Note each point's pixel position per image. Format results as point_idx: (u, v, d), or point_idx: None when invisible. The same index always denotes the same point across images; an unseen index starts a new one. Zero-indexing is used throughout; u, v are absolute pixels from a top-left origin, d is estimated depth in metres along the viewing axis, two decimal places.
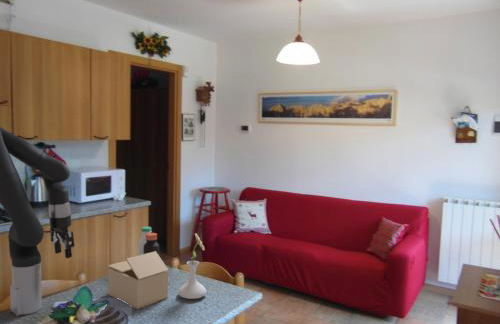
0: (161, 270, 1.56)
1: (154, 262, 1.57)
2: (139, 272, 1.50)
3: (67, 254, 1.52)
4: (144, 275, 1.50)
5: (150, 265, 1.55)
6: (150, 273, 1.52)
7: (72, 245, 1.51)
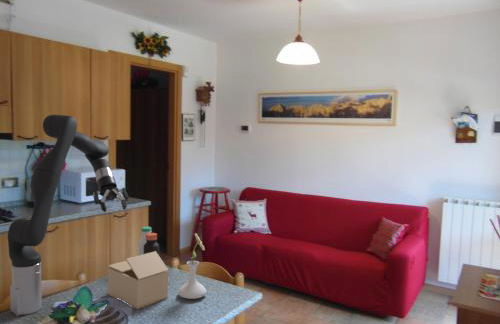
0: (161, 270, 1.56)
1: (154, 262, 1.57)
2: (139, 272, 1.50)
3: (125, 204, 1.76)
4: (144, 275, 1.50)
5: (150, 265, 1.55)
6: (150, 273, 1.52)
7: None
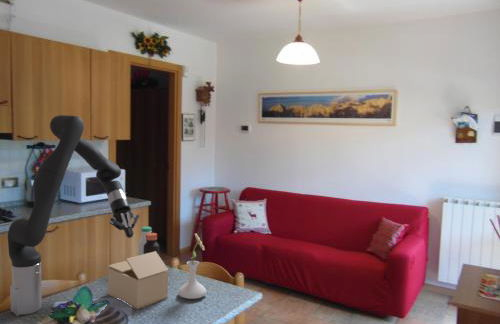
0: (161, 270, 1.56)
1: (154, 262, 1.57)
2: (139, 272, 1.50)
3: (132, 232, 1.66)
4: (144, 275, 1.50)
5: (150, 265, 1.55)
6: (150, 273, 1.52)
7: None
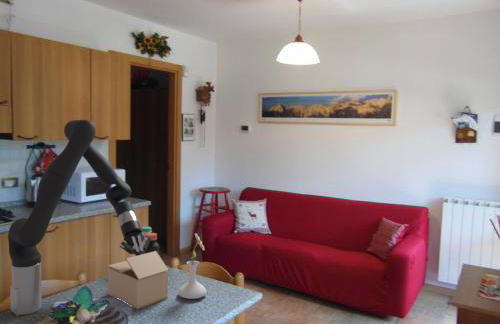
0: (161, 270, 1.56)
1: (154, 262, 1.57)
2: (139, 272, 1.50)
3: None
4: (144, 275, 1.50)
5: (150, 264, 1.55)
6: (150, 273, 1.52)
7: None
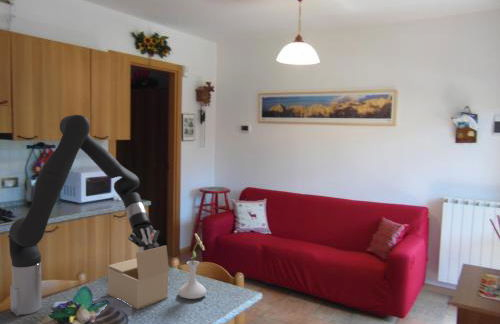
0: (162, 271, 1.56)
1: (160, 260, 1.55)
2: (142, 272, 1.49)
3: None
4: (145, 275, 1.50)
5: (155, 263, 1.53)
6: (151, 274, 1.52)
7: None
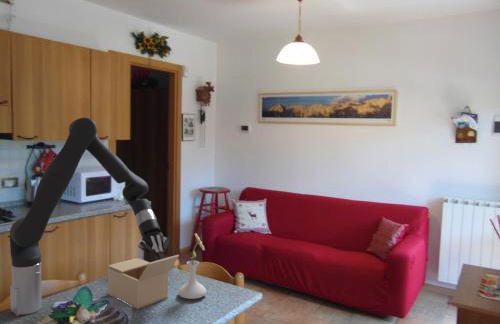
0: (163, 272, 1.55)
1: (166, 266, 1.53)
2: (145, 275, 1.48)
3: (163, 257, 1.51)
4: (146, 277, 1.49)
5: (160, 268, 1.51)
6: (152, 276, 1.51)
7: None
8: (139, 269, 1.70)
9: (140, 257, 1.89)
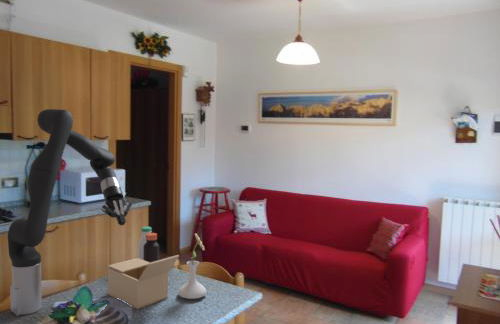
0: (163, 272, 1.55)
1: (166, 266, 1.53)
2: (145, 275, 1.48)
3: (124, 219, 1.63)
4: (146, 277, 1.49)
5: (160, 268, 1.51)
6: (152, 276, 1.51)
7: None
8: (139, 269, 1.70)
9: (140, 257, 1.89)
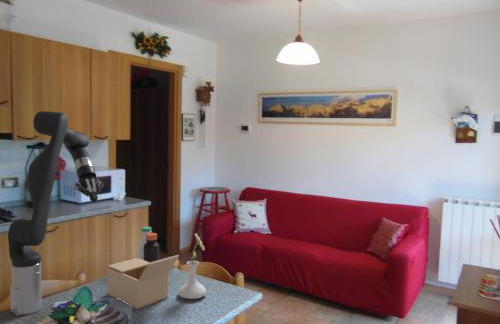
0: (163, 272, 1.55)
1: (166, 266, 1.53)
2: (145, 275, 1.48)
3: (96, 196, 1.71)
4: (146, 277, 1.49)
5: (160, 268, 1.51)
6: (152, 276, 1.51)
7: None
8: (139, 269, 1.70)
9: (140, 257, 1.89)
